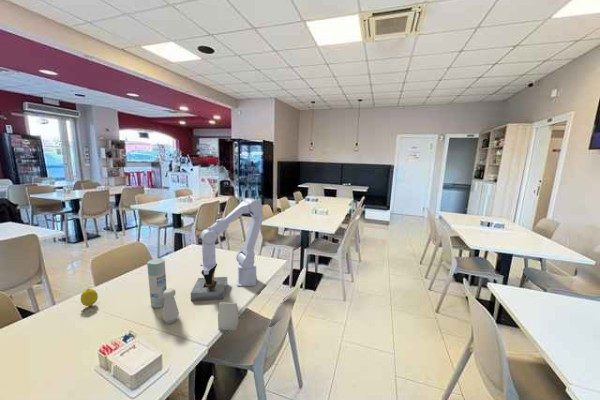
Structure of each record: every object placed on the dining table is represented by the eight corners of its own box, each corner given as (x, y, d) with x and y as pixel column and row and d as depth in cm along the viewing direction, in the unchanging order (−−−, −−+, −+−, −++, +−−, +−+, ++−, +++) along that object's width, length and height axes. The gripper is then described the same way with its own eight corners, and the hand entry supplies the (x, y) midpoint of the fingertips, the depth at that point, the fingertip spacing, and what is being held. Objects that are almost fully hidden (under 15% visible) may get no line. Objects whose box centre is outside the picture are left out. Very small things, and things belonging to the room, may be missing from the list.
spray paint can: (160, 309, 107) (156, 265, 103) (147, 307, 108) (143, 263, 105) (170, 300, 113) (168, 259, 110) (158, 298, 114) (155, 257, 111)
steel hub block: (227, 284, 129) (227, 276, 128) (223, 299, 115) (222, 291, 115) (198, 285, 127) (198, 277, 126) (191, 301, 113) (190, 292, 113)
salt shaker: (182, 317, 102) (180, 288, 100) (171, 326, 97) (169, 295, 94) (171, 314, 104) (169, 285, 102) (159, 322, 98) (157, 292, 96)
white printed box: (235, 330, 96) (235, 306, 94) (218, 329, 96) (217, 305, 94) (238, 324, 99) (238, 300, 98) (221, 323, 100) (221, 300, 98)
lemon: (101, 304, 109) (99, 287, 108) (86, 311, 104) (83, 293, 103) (94, 301, 111) (92, 284, 110) (79, 307, 106) (76, 290, 105)
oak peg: (215, 283, 123) (214, 269, 122) (213, 287, 119) (213, 273, 118) (206, 283, 122) (206, 270, 121) (204, 287, 118) (204, 273, 117)
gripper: (203, 249, 124) (204, 274, 127) (196, 261, 110) (197, 290, 113) (218, 248, 125) (219, 274, 128) (212, 261, 111) (213, 289, 114)
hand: (210, 281), depth 120 cm, fingers closed on oak peg, 4 cm apart
